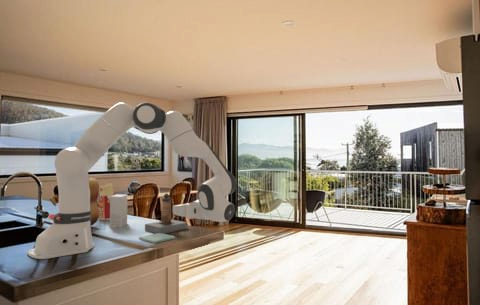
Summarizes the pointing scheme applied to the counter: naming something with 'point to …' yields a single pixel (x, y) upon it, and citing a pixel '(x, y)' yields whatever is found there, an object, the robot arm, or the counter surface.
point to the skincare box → (118, 210)
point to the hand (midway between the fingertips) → (182, 205)
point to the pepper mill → (166, 210)
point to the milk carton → (105, 201)
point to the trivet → (157, 238)
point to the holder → (165, 227)
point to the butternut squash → (94, 199)
